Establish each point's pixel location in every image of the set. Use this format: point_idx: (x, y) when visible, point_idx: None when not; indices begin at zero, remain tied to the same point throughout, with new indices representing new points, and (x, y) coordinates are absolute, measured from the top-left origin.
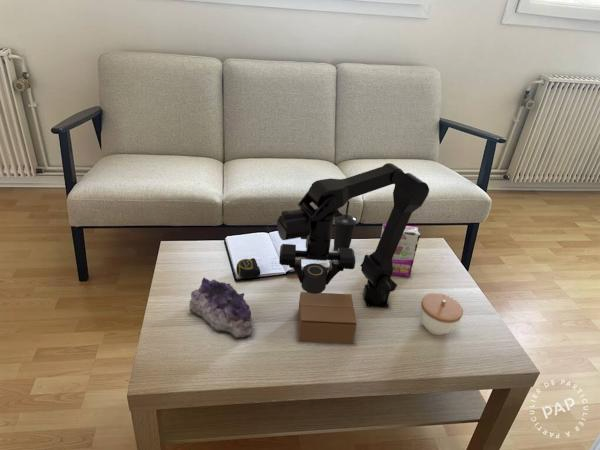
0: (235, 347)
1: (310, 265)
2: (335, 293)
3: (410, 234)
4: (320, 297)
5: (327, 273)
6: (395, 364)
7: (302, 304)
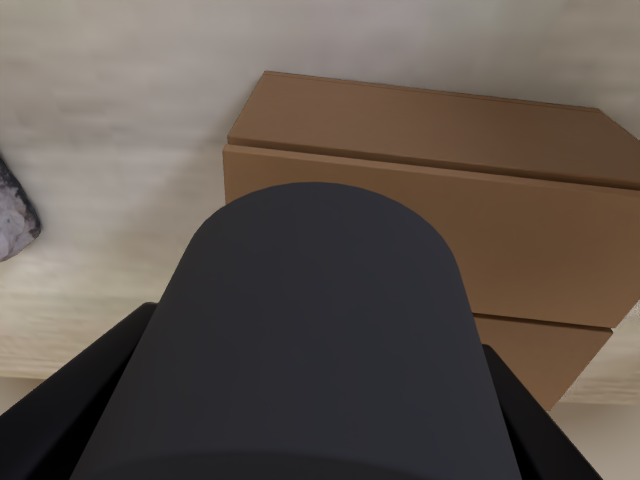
0: (8, 273)
1: None
2: (562, 191)
3: None
4: None
5: (525, 470)
6: (614, 374)
7: None
